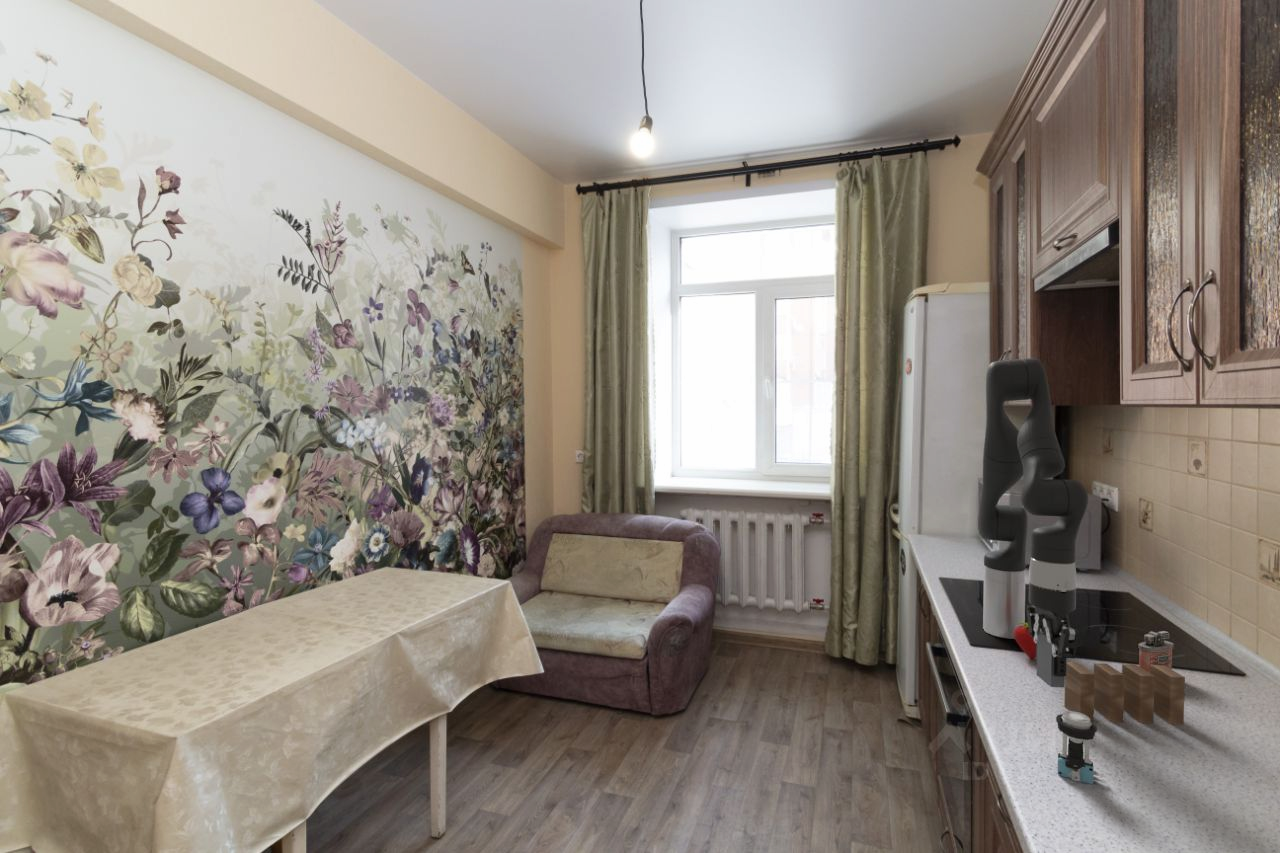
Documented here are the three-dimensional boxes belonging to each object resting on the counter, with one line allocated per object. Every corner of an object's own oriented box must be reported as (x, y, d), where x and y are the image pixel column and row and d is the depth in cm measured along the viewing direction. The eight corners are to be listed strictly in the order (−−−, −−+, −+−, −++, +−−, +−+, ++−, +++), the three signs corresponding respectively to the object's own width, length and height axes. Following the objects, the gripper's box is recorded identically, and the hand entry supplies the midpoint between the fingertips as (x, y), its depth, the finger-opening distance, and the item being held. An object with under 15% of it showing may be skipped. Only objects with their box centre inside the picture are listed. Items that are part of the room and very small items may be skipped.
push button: (1105, 776, 98) (1106, 716, 97) (1107, 794, 93) (1108, 731, 93) (1055, 763, 101) (1056, 704, 101) (1055, 779, 97) (1056, 718, 97)
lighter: (1149, 684, 128) (1151, 637, 128) (1133, 676, 132) (1134, 631, 131) (1177, 678, 130) (1178, 633, 130) (1160, 672, 134) (1161, 627, 133)
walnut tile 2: (1139, 722, 113) (1140, 675, 113) (1121, 709, 118) (1122, 664, 118) (1153, 723, 113) (1154, 676, 113) (1134, 709, 118) (1135, 664, 118)
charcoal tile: (1050, 686, 115) (1051, 640, 114) (1036, 675, 120) (1037, 630, 119) (1064, 687, 115) (1065, 640, 114) (1049, 675, 119) (1050, 630, 119)
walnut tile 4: (1080, 720, 115) (1081, 673, 114) (1064, 706, 120) (1065, 662, 119) (1093, 720, 114) (1094, 674, 114) (1077, 707, 119) (1078, 662, 119)
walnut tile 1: (1169, 723, 113) (1170, 676, 112) (1149, 710, 118) (1151, 664, 117) (1183, 724, 113) (1184, 677, 112) (1163, 710, 118) (1164, 665, 117)
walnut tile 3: (1109, 721, 114) (1110, 674, 114) (1092, 707, 119) (1093, 663, 119) (1123, 722, 114) (1124, 675, 113) (1105, 708, 119) (1106, 663, 118)
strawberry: (1052, 667, 137) (1053, 623, 136) (1013, 660, 141) (1014, 617, 140) (1050, 657, 142) (1051, 615, 141) (1013, 650, 146) (1013, 610, 145)
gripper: (1012, 571, 124) (1011, 653, 125) (1052, 593, 110) (1050, 685, 110) (1051, 572, 123) (1050, 654, 124) (1097, 594, 109) (1095, 687, 109)
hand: (1050, 668), depth 117 cm, fingers closed on charcoal tile, 5 cm apart
